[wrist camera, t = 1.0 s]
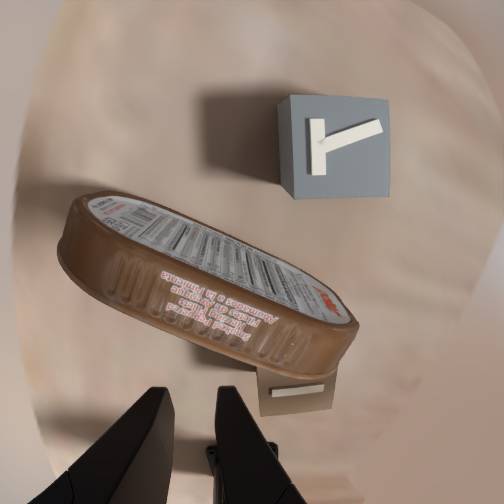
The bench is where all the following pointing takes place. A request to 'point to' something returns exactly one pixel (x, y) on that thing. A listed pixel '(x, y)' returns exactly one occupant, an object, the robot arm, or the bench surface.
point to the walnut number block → (293, 393)
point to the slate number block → (334, 146)
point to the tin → (204, 285)
